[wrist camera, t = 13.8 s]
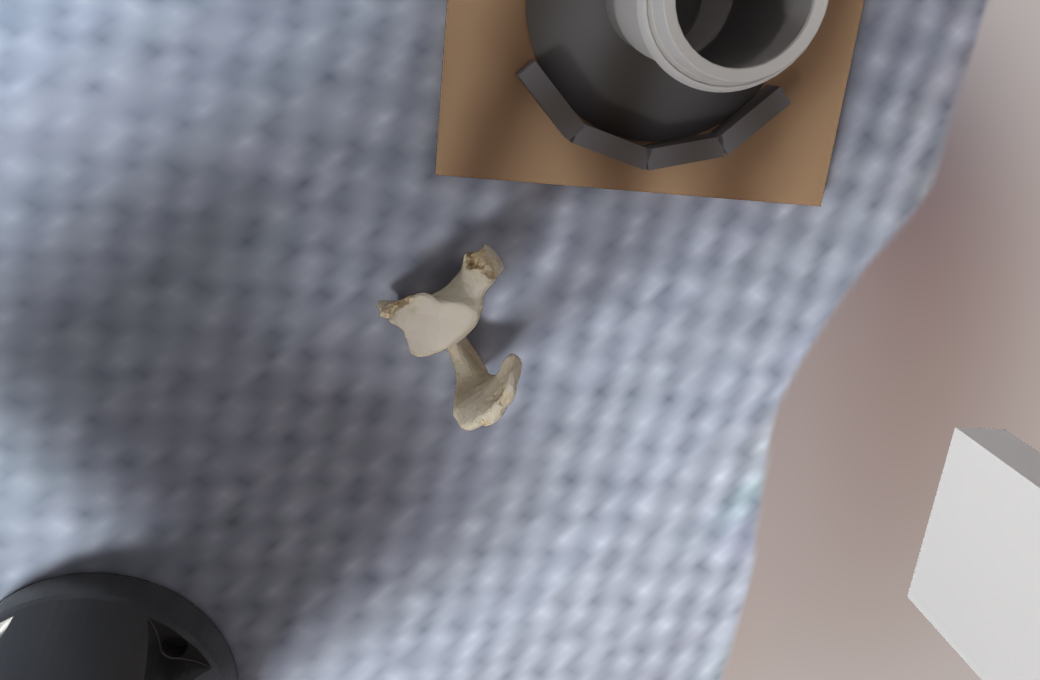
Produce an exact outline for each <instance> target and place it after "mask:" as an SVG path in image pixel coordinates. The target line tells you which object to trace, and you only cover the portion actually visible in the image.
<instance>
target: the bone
mask: <svg viewBox="0 0 1040 680" xmlns="http://www.w3.org/2000/svg"><path fill="white" fill-rule="evenodd" d="M503 269H504V265H503V264H502V262H501V260H500V258H499V256H498V254H497V253H496V252H495V251H494V250H493V249H492V248H490V247H489V246H487V245H486V244H484V247H483V248H482V249H481V250H479V251H476V252H468V253H465V255H464V260H463V265H462V267H461V270H460V271H459V273H458V274H457V275H456V276H455V277H454V278H453V279H452V281H451V282H450V283H449V284H448V285H447V286H446V287H444V288H443V289H442V290H440V291H438V292H436V293H433V294H428V293H425V292H424V293H418V294H413V295H410V296H408V297H406V298H404V299H401V300H398V301H378V305H377V308H378V309H379V310H380V317H384V318H390V323H392V324H394V325H396V326H398V327H399V328H400V329H401V330H403V331H404V334H405V337H406V339H407V342H408V345H409V349H410V352H411V354H413V355H415V356H417V357H425V356H429V355H432V354H435V353H438V352H441V351H443V350H445V349H448V351H449V353H450V355H451V358H452V361H453V364H454V367H455V371H456V378H457V384H456V388H455V397H454V407H453V415H454V417H455V419H456V420H457V422H458V424H459V426H460V427H461V428H462V429H465V430H467V431H471V430H474V429H476V428H478V427H480V426H489V425H491V424H493V423H495V422H497V421H498V420H499V419H500V418H501V417H502V415H503V414H504V412H505V410H506V408H507V406H508V405H509V404H510V403H511V402H512V401H513V400H514V398H515V393H516V388H517V384H518V380H519V377H520V373H521V367H522V363H521V360H520V358H519V357H518V356H517V355H515V354H510V355H508V356H507V357H506V359H505V360H504V361H503V362H502V364H501V367H500V370H499V371H498V373H497V374H496V375H491V374H489V373H488V371H487V369H486V367H485V365H484V363H483V361H482V360H481V358H480V357H479V355H478V354H477V352H476V351H475V350H474V348H473V347H472V345H471V344H470V342H469V340H468V339H467V337H466V335H468V334H469V333H470V332H471V331H472V330H473V328H474V327H475V326H476V324H477V323H478V321H479V319H480V317H481V315H482V310H483V300H484V296H485V294H486V291H487V290H488V288H489V287H490V286H491V285H492V284H493V283H494V282H495V280H496V279H497V277H498V276H499V275H500V274H501V272H502V271H503Z"/></svg>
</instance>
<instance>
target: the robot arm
mask: <svg viewBox="0 0 1040 680" xmlns="http://www.w3.org/2000/svg"><path fill="white" fill-rule="evenodd" d="M908 598H909V599H910V600H911V601H912V602H913V603H914V604H915V606H916V607H917V608H918V609H919V610H920V611H921V612H922V613H923V615H924V616H925V617H926V618H927V619H928V620H929V621H930V622H931V623H932V625H933V626H934V627H935V628H936V629H937V630H938V631H939V633H941V635H942V636H943V637H944V638H945V639H946V640H947V641H948V643H949V644H950V645H951V646H952V647H953V648H954V649H955V650H956V652H957V653H959V655H960V656H961V657H962V658H963V659H964V660H965V662H966V663H967V664H968V665H969V666H970V667H971V668H972V669H973V671H974V672H975V673H976V674H977V675H978V676H979V677H980V678H981V680H1040V452H1039V451H1037V450H1035V449H1034V448H1032V447H1031V446H1029V445H1028V444H1026V443H1025V442H1023V441H1022V440H1020V439H1019V438H1017V437H1016V436H1014V435H1013V434H1011V433H1010V432H1008V431H1007V430H1005V429H985V428H962V427H955V431H954V434H953V437H952V441H951V444H950V448H949V451H948V455H947V458H946V462H945V465H944V469H943V472H942V476H941V479H940V483H939V487H938V490H937V494H936V497H935V501H934V504H933V508H932V512H931V515H930V518H929V522H928V526H927V529H926V533H925V536H924V540H923V543H922V547H921V550H920V554H919V557H918V561H917V564H916V568H915V571H914V575H913V578H912V582H911V586H910V589H909V593H908ZM0 680H237V672H236V666H235V662H234V659H233V656H232V653H231V651H230V649H229V646H228V644H227V643H226V641H225V639H224V637H223V636H222V634H221V633H220V631H219V630H218V629H217V627H216V626H215V625H214V624H213V623H212V621H211V620H210V619H209V618H208V617H207V616H206V615H205V614H204V613H202V612H201V611H200V610H199V609H198V608H197V607H195V606H194V605H193V604H191V603H190V602H188V601H187V600H186V599H184V598H182V597H181V596H179V595H177V594H175V593H173V592H171V591H169V590H167V589H165V588H163V587H161V586H158V585H155V584H153V583H150V582H147V581H143V580H140V579H136V578H132V577H127V576H121V575H113V574H99V573H87V574H73V575H66V576H60V577H56V578H51V579H48V580H44V581H41V582H38V583H35V584H32V585H30V586H28V587H25V588H23V589H21V590H19V591H17V592H15V593H13V594H12V595H10V596H8V597H7V598H5V599H4V600H2V601H1V602H0Z"/></svg>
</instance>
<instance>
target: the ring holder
mask: <svg viewBox="0 0 1040 680" xmlns="http://www.w3.org/2000/svg"><path fill="white" fill-rule="evenodd" d="M863 4H864V0H829V2H828V6H827V10H826V13H825V16H824V18H823V20H822V23H821V25H820V27H819V29H818V31H817V33H816V35H815V36H814V38H813V39H812V41H811V42H810V44H809V45H808V47H807V48H806V50H805V51H804V52H803V53H802V54H801V55H800V56H799V57H798V58H797V59H796V60H795V61H794V62H793V63H792V64H791V65H790V66H789V67H787V68H786V69H785V70H783V71H782V72H781V73H779V74H778V75H777V76H775V77H773V78H771V79H769V80H768V81H766V82H764V83H761V84H759V85H757V86H754V87H751V88H748V89H744V90H740V91H734V92H708V91H703V90H699V89H695V88H692V87H689V86H687V85H685V84H683V83H681V82H679V81H677V80H676V79H674V78H673V77H671V76H670V75H669V74H668V73H666V72H665V71H664V70H663V69H662V68H661V67H660V66H659V65H658V64H657V62H656V61H655V60H653V59H651V58H649V57H647V56H645V55H643V54H642V53H640V52H639V51H637V50H636V49H635V48H634V47H632V46H631V45H629V44H627V43H626V42H625V41H623V40H622V39H621V38H620V37H619V36H618V35H617V33H616V32H615V30H614V29H613V27H612V25H611V23H610V21H609V18H608V14H607V9H606V0H447V8H446V22H445V37H444V51H443V65H442V79H441V93H440V107H439V121H438V135H437V149H436V164H435V173H436V175H445V176H458V177H470V178H482V179H494V180H506V181H519V182H531V183H543V184H555V185H567V186H580V187H592V188H604V189H616V190H628V191H641V192H653V193H665V194H677V195H689V196H702V197H714V198H726V199H738V200H751V201H763V202H775V203H787V204H799V205H812V206H821V203H822V198H823V193H824V188H825V184H826V179H827V174H828V169H829V165H830V160H831V155H832V151H833V146H834V141H835V136H836V132H837V127H838V122H839V117H840V113H841V108H842V103H843V98H844V94H845V89H846V84H847V80H848V75H849V70H850V65H851V61H852V56H853V51H854V46H855V42H856V37H857V32H858V28H859V23H860V18H861V13H862V9H863Z"/></svg>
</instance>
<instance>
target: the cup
mask: <svg viewBox="0 0 1040 680" xmlns="http://www.w3.org/2000/svg"><path fill="white" fill-rule="evenodd" d="M828 2H829V0H606V9H607V14H608V18H609V21H610V23H611V25H612V27H613V29H614V30H615V32H616V33H617V35H618V36H619V37H620V38H621V39H622V40H623V41H625V42H626V43H627V44H629V45H631V46H632V47H634V48H635V49H636V50H637V51H639V52H640V53H642V54H643V55H645V56H647V57H649V58H651V59H653V60H655V61H656V62H657V64H658V65H659V66H660V67H661V68H662V69H663V70H664V71H665V72H666V73H668V74H669V75H670V76H671V77H673V78H674V79H676V80H677V81H679V82H681V83H683V84H685V85H687V86H689V87H692V88H695V89H699V90H703V91H708V92H734V91H740V90H744V89H748V88H751V87H754V86H757V85H759V84H761V83H764V82H766V81H768V80H769V79H771V78H773V77H775V76H777V75H778V74H779V73H781V72H782V71H783V70H785V69H786V68H787V67H789V66H790V65H791V64H792V63H793V62H794V61H795V60H796V59H797V58H798V57H799V56H800V55H801V54H802V53H803V52H804V51H805V50H806V48H807V47H808V45H809V44H810V42H811V41H812V39H813V38H814V36H815V35H816V33H817V31H818V29H819V27H820V25H821V23H822V20H823V18H824V16H825V13H826V10H827V6H828Z"/></svg>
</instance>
